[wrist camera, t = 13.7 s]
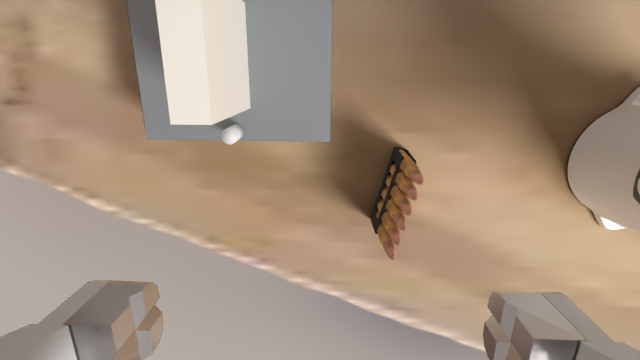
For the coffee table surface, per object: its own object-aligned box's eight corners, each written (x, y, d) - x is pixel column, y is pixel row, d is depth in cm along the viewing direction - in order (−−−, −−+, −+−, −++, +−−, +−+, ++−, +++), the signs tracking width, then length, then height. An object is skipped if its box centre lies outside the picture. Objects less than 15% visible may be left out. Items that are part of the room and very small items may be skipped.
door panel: (244, 2, 33) (197, -36, 21) (250, 108, 36) (211, 125, 24) (213, 2, 33) (150, -36, 21) (222, 108, 36) (170, 124, 24)
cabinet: (332, -18, 39) (332, -52, 29) (330, 129, 44) (330, 147, 34) (156, -18, 40) (92, -51, 29) (174, 128, 45) (125, 144, 34)
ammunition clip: (394, 146, 45) (416, 172, 33) (408, 150, 45) (434, 176, 33) (370, 218, 48) (382, 264, 36) (382, 222, 48) (398, 269, 36)
